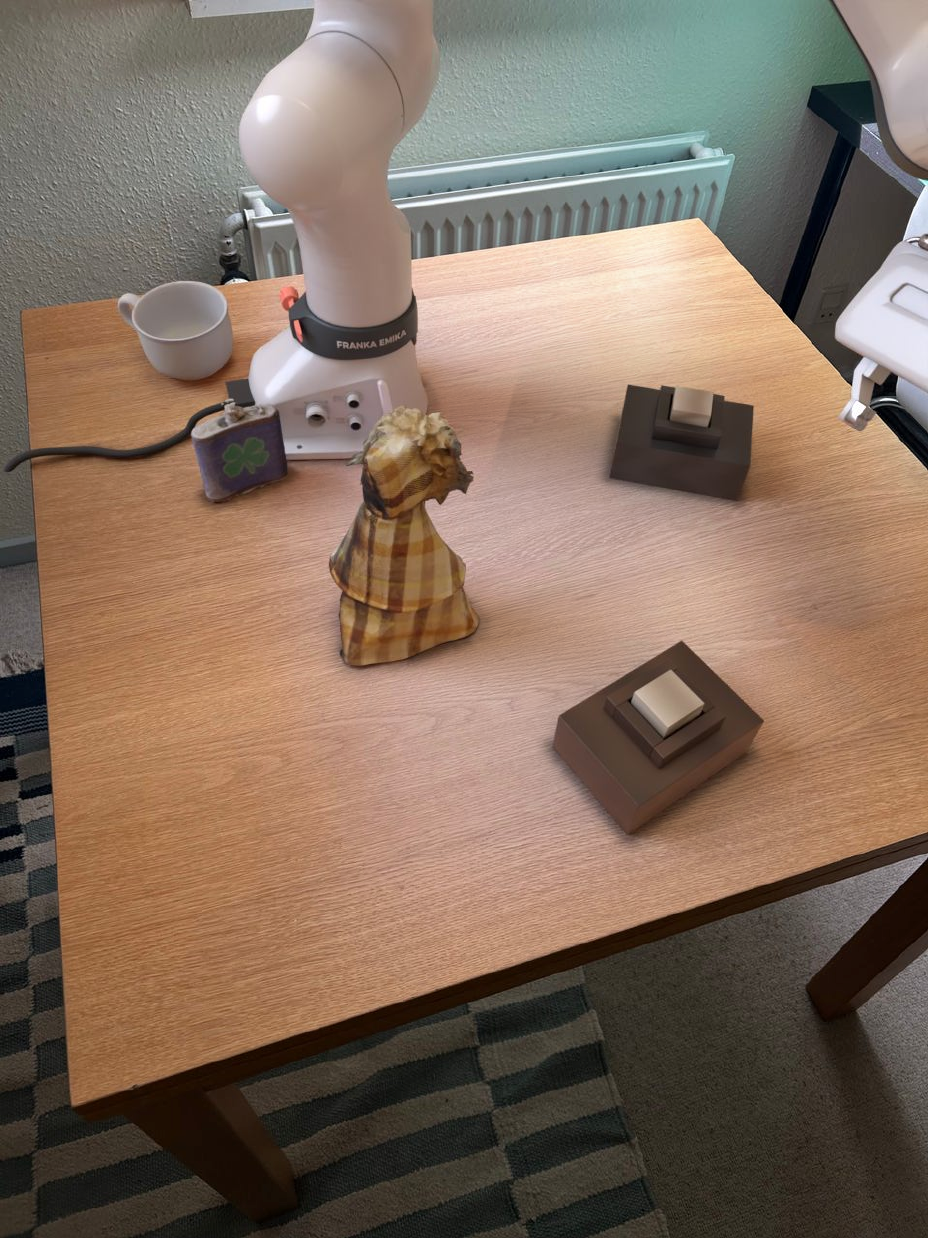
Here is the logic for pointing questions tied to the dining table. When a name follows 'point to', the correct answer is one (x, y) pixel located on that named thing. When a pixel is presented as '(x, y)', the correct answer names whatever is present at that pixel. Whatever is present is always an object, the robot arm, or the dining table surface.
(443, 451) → the plush toy
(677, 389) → the key far
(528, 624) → the dining table surface
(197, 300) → the teacup
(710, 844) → the dining table surface
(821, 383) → the dining table surface
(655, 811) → the push button box
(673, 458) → the stepped block
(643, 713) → the key near
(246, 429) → the flask
